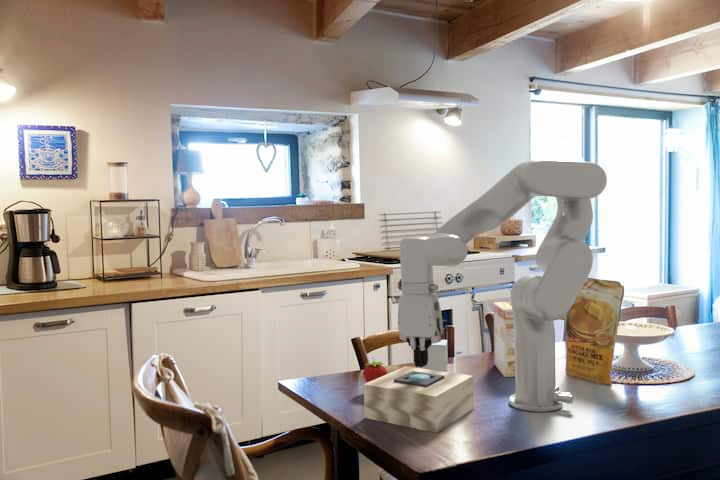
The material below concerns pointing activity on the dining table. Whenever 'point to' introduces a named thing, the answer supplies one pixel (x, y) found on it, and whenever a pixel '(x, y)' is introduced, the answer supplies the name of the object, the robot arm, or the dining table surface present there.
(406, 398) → the collar block
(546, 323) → the robot arm
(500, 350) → the coffeecake box
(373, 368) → the strawberry
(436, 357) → the supplement box
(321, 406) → the dining table surface
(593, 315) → the pancake mix bag
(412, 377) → the teal peg
